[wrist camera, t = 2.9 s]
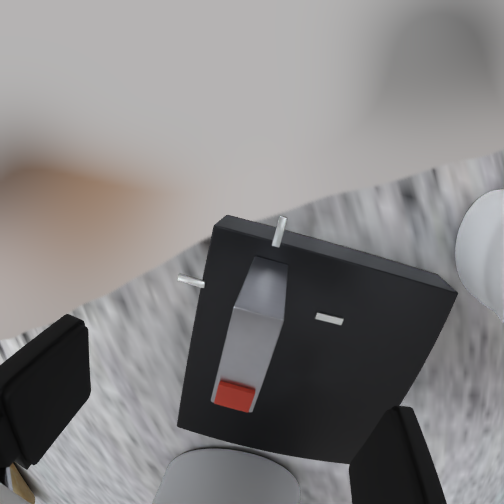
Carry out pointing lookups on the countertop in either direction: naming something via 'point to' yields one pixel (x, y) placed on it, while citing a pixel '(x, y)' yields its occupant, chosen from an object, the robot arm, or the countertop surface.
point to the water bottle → (483, 251)
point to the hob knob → (251, 335)
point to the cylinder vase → (226, 480)
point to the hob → (312, 341)
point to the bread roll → (20, 485)
